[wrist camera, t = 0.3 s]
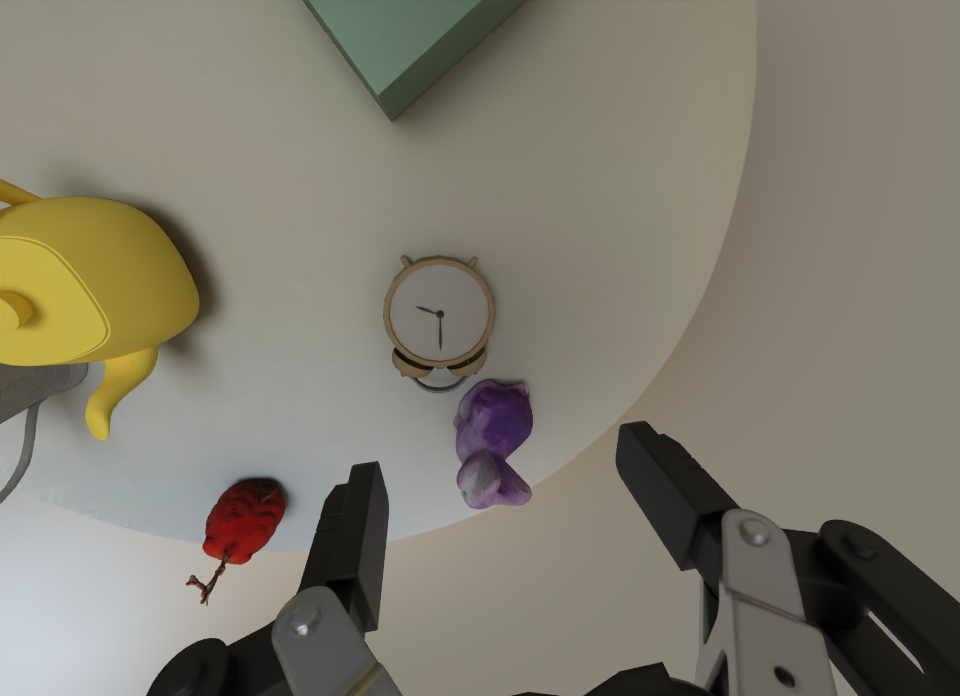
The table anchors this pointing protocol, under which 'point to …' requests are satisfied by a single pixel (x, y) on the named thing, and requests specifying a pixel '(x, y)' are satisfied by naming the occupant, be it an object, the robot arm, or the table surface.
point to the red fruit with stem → (240, 525)
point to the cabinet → (406, 40)
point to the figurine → (492, 443)
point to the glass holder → (32, 401)
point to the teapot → (89, 290)
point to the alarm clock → (438, 319)
